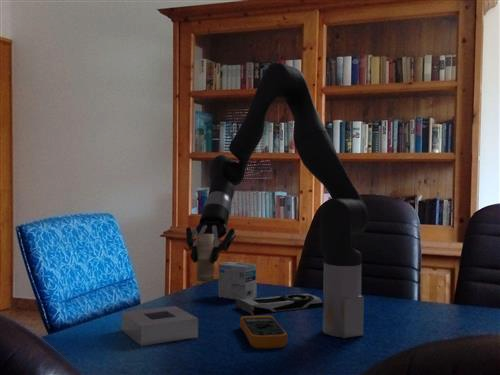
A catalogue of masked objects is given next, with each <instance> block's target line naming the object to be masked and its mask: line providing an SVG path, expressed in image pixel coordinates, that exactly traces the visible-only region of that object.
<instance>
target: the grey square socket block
mask: <svg viewBox="0 0 500 375" xmlns="http://www.w3.org/2000/svg"><path fill="white" fill-rule="evenodd" d="M121 316H122V321H121V322H122V324H121V331H122V332H123V333H125V335H127V336H129V337H130V338H131V339H132V340H134V341H135V343H137V344H138V345H139V346H140V347H143V346H150V345H155V344H156V345H157V344H162V343H169V342H175V341H176V342H177V341H181V340H188V339H196V338H199V318H198V317H196V316H195V315H192V314H190V313H189V312H188V311H185V310H183V309H181V308H180V307H178V306H177V305H173V306H164V307H163V306H162V307H156V308H146V309H137V310H130V311H122V313H121Z"/></svg>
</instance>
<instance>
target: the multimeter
mask: <svg viewBox="0 0 500 375" xmlns="http://www.w3.org/2000/svg"><path fill="white" fill-rule="evenodd" d="M239 326H240V328H241V330H242V332H243V333H244V334H245V336H246V338H247V340H248V342H249V344H250V346H251V347H253V348H254V349H260V350H262V349H279V348H281V349H282V348H284V347H286V346H287V343H288V333H287V332H286V331H285V330H284V329H283V328H282V326H281V325H280V324H279V323H278V321H277V320H276V319H275V317H274V316H272V315H268V314H267V315H262V314H261V315H254V316H253V315H243V316H241V317H240V319H239Z"/></svg>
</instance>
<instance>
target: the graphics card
mask: <svg viewBox="0 0 500 375" xmlns="http://www.w3.org/2000/svg"><path fill="white" fill-rule="evenodd" d="M240 308H241V309H242V310H241V309H240ZM313 308H323V299H321V297H318V296H316V295H312V294H310V293H296V294H295V293H294V294H288V295H280V296H278V295H277V296H268V297H258V298H257V297H256V298H248V299H237V300H235V309H240V310H241V311H243V312H246V311H247V312H248V314H250V316H255V315H262V314H263V313H264V314H271V312H274V313H280V312H289V311H299V310H305V309H306V310H307V309H313ZM247 312H246V313H247ZM254 314H255V315H254Z"/></svg>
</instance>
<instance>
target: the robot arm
mask: <svg viewBox="0 0 500 375" xmlns="http://www.w3.org/2000/svg"><path fill="white" fill-rule="evenodd" d="M275 99H281V100H283V101H284V102H285V103H286V105H287V106H288V108H289V111H290V113H291V115H292V118H293V129H292V130H293V133H292V134H293V136H292V137H293V144H294V146H295V149H296V151H297V153H298V156H299V158H300V161H301V162H302V163H303V166H304V167H305V168H306V170H308V171H309V172H310V173H311V174H312V175H313V176H314V177H315V179H317V180H318V181H319V182H320V183H321V184H322V186H323V187H324V188H325V189H326V191H327V192H328V194H329V195H330V199H328V200H327V201H325V203H324V204H323V205H322V208H321V211H320V217H319V229H320V230H319V231H320V248H321V253H322V255H323V294H322V296H323V298H322V302H323V307H322V332H323V334H326V335H328V336H331V337H336V338H337V337H338V338H342V339H349V338H356V337H360V336H363V335H364V310H365V309H364V308H365V306H364V303H365V300H364V299H365V297H364V296H363V295H362V262H363V256H362V253H361V252H360V251H359V250H357V249H355V248H354V247H353V245H352V237H351V236H354V235H359V234H362V233H364V232H365V231H366V230H367V228H368V227H369V222H370V215H369V211H368V208H367V205H366V204H365V202H364V200H363V198H362V196H361V195H360V194H359V192H358V190H357V189H356V187H355V185H354V183H353V181H352V180H351V179H350V177H349V175H348V173H347V171H346V168H345V166H344V165H343V163H342V161H341V159H340V157H339V154H338V153H337V150H336V148H335V145H334V144H333V143H334V142H333V141H332V139H331V137H330V135H329V132H328V130H327V129H326V127H325V125H324V123H323V120H322V119H321V117H320V114H319V112H318V110H317V108H316V106H315V104H314V100H313V98H312V95H311V92H310V88H309V86H308V83H307V80H306V78H305V76H304V74H303V73H302V71H301V70H299V69H298V68H296V67H294V66H291V65H288V64H284V63H282V62H274V63H272V64H270V65H269V66H268V67H267V68H266V69H265V71H264V72H263V74H262V77H261V79H260V81H259V84H258V86H257V89H256V91H255V93H254V95H253V97H252V100H251V103H250V105H249V109H248V110H247V113H246V115H245V117H244V119H243V121H242V123H241V125H240V127H239V129H238V130H237V131H236V133H235V135H234V136H233V138H232V140H231V142H230V144H229V146H228V150H229V152H230V154H232V156H234V157H235V158H236V159H237V160H238V162H237V161H236V160H234V159H232V158H230V157H227V156H226V155H223V154H219V155H217V156H215V157H214V158H212V160H211V163H210V166H209V179H210V186H209V191H208V193H207V194H208V195H207V198H206V199H205V201H204V202H205V203H204V205H203V208H202V212H201V215H200V219H199V222H198V224H197V226H196V227H194V228H191V227H186V229H185V232H186V234H185V235H186V244H187V247H188V249H189V251H191V252H190V259H191V261H192V263H194V264H197V236H196V235H197V234H214V248H213V250H212V254H211V258H210V260H211V263H213V264H214V265H215V263H216V262H218V260H219V256H220V253H221V252H222V251H224V252H227V251H228V250H229V248H230V246H231V245H232V243H233V241H234V240H235V238H236V236H237V234H236V231H235V228H230V229H228V228H227V227H228V222H229V218H230V215H231V210H232V202H233V198H234V195H235V187H236V186H238V185H240V184H241V183H242V182H243V180H244V177H245V174H246V170H247V166H248V164H249V161H250V159H251V157H252V155H253V153H254V152H255V150H256V148H257V147H258V145H259V143H260V142H261V140H262V138H263V136H264V131H265V125H266V124H265V123H266V117H267V113H268V110H269V108H270V106H271V105H272V104H273V102H274V101H275ZM195 236H196V239H195V241H194V238H195ZM224 236H225V237H224ZM223 237H224V239H223V241H222V242H221V238H223Z"/></svg>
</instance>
